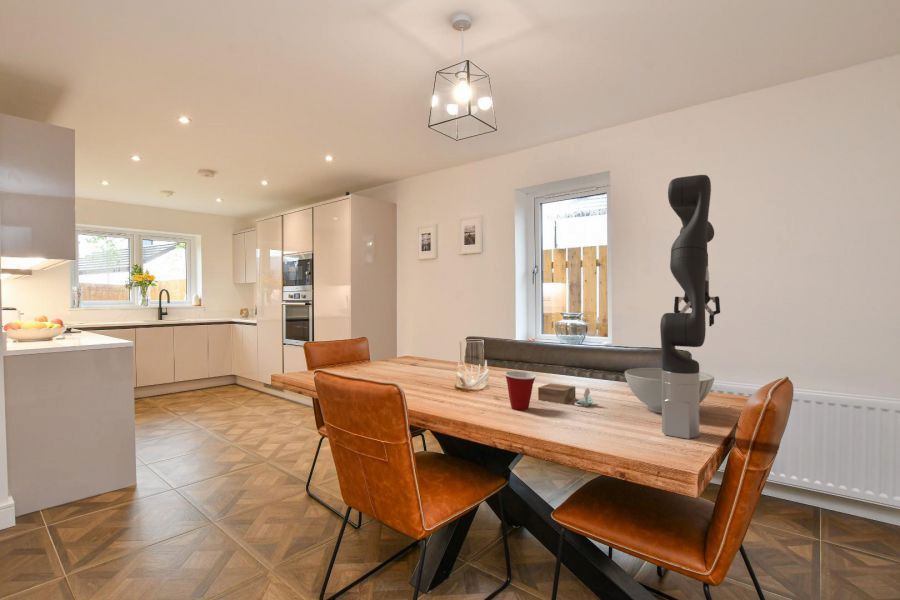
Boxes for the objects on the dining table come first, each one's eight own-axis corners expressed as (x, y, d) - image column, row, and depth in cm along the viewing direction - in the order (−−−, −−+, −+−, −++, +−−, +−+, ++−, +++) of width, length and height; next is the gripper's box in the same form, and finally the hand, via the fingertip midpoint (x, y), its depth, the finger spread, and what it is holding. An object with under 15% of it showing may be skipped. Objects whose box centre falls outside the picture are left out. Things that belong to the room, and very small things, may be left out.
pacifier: (571, 406, 157) (588, 408, 153) (570, 388, 157) (588, 390, 154) (578, 402, 163) (595, 404, 160) (577, 385, 163) (594, 386, 160)
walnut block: (563, 404, 159) (563, 390, 159) (538, 401, 166) (538, 387, 166) (575, 399, 167) (575, 386, 167) (550, 396, 174) (550, 383, 174)
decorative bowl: (707, 426, 132) (707, 384, 132) (614, 412, 148) (614, 375, 148) (719, 408, 153) (719, 372, 153) (636, 397, 169) (636, 365, 169)
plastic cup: (528, 414, 146) (528, 377, 146) (498, 409, 152) (498, 374, 152) (541, 407, 155) (541, 372, 155) (513, 403, 161) (513, 369, 161)
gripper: (673, 280, 160) (673, 325, 160) (719, 279, 152) (719, 326, 152) (675, 280, 166) (675, 324, 166) (720, 280, 159) (720, 326, 159)
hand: (696, 325), depth 159 cm, fingers open, 8 cm apart
